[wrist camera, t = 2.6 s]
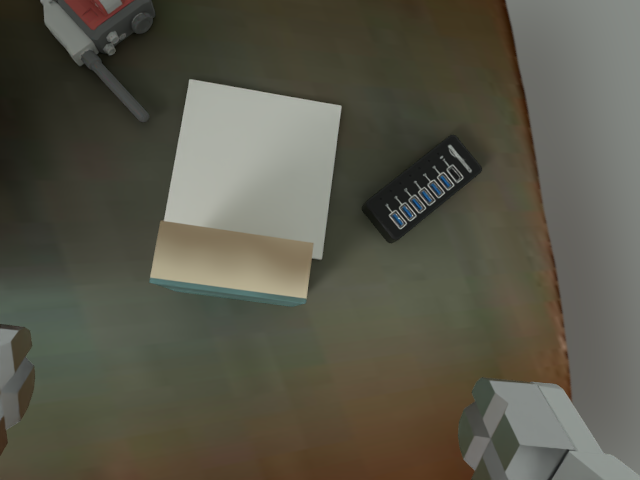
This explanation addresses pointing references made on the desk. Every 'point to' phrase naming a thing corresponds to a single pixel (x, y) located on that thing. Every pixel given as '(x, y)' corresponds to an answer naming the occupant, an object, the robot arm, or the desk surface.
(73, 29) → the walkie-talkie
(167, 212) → the mat
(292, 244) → the beige rectangular block
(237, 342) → the desk surface
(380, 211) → the multiport hub
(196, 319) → the desk surface
